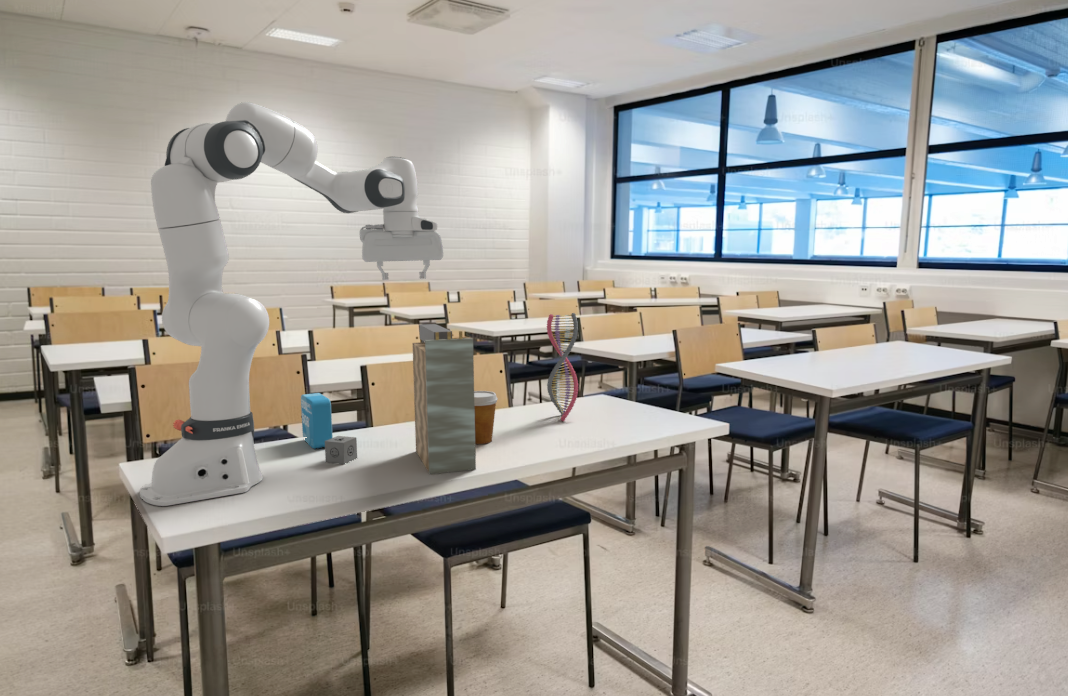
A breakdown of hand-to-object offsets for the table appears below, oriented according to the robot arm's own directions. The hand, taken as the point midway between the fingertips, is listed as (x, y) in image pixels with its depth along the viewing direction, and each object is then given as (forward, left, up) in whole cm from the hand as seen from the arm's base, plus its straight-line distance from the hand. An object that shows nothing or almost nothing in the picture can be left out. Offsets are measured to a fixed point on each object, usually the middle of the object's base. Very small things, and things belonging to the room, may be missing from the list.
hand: (404, 279), depth 177 cm
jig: (-7, -26, -40) cm, 48 cm away
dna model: (+42, -16, -41) cm, 60 cm away
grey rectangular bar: (-4, -19, -14) cm, 24 cm away
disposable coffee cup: (+9, -19, -41) cm, 45 cm away
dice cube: (-24, -10, -41) cm, 48 cm away
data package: (-21, +8, -41) cm, 47 cm away
